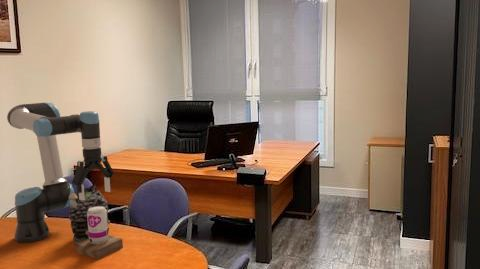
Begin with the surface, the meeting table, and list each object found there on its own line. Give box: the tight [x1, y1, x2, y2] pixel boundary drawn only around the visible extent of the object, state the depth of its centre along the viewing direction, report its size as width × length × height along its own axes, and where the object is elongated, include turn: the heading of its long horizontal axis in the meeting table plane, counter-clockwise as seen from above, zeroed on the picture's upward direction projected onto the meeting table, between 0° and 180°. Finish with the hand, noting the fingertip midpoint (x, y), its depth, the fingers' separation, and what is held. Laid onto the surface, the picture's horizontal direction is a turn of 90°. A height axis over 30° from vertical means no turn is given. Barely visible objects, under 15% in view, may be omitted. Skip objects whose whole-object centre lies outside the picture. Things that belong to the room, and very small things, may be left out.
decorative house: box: [68, 184, 111, 244], centre depth 201 cm, size 21×15×25 cm
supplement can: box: [87, 206, 109, 244], centre depth 186 cm, size 8×8×15 cm
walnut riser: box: [75, 234, 124, 260], centre depth 187 cm, size 14×14×4 cm
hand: (95, 195), depth 184 cm, fingers open, 13 cm apart
